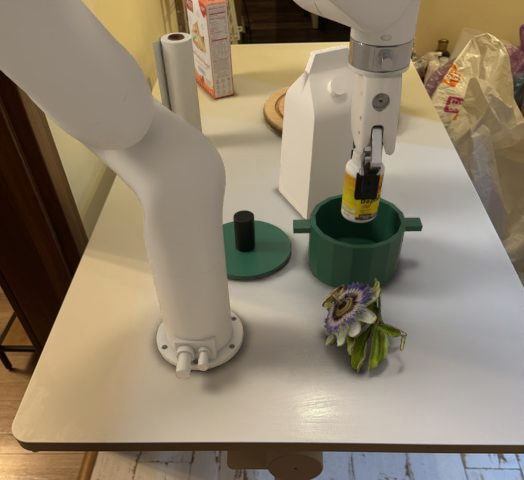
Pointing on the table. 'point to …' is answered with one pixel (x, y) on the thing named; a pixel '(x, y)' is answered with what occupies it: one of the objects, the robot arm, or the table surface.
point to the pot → (354, 243)
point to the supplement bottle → (350, 207)
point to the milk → (317, 130)
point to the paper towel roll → (178, 76)
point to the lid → (253, 246)
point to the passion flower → (359, 323)
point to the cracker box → (211, 45)
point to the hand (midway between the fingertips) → (362, 185)
